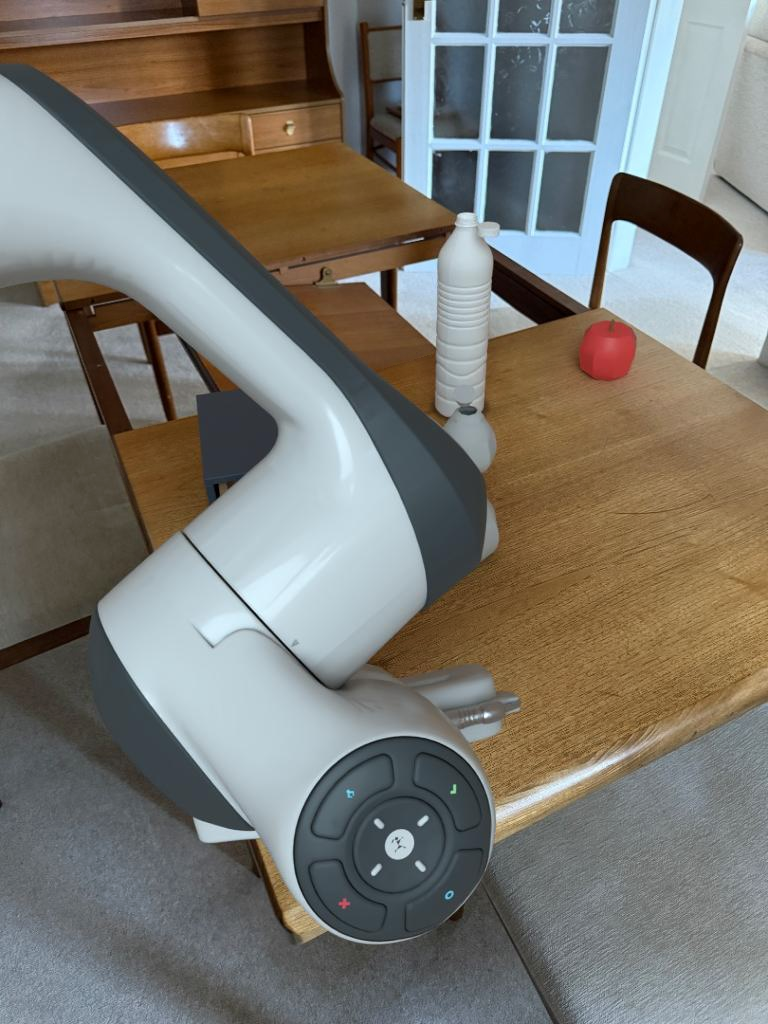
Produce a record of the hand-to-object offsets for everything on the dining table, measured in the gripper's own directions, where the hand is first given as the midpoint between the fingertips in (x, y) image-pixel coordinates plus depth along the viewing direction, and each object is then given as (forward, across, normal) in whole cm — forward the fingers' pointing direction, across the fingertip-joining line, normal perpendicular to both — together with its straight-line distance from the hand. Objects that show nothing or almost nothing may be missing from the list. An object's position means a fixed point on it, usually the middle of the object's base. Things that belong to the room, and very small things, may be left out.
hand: (330, 708), depth 53 cm
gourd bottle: (+20, -17, -9) cm, 28 cm away
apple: (+42, -48, -31) cm, 70 cm away
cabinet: (+31, 0, -20) cm, 37 cm away
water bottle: (+39, -26, -28) cm, 54 cm away
